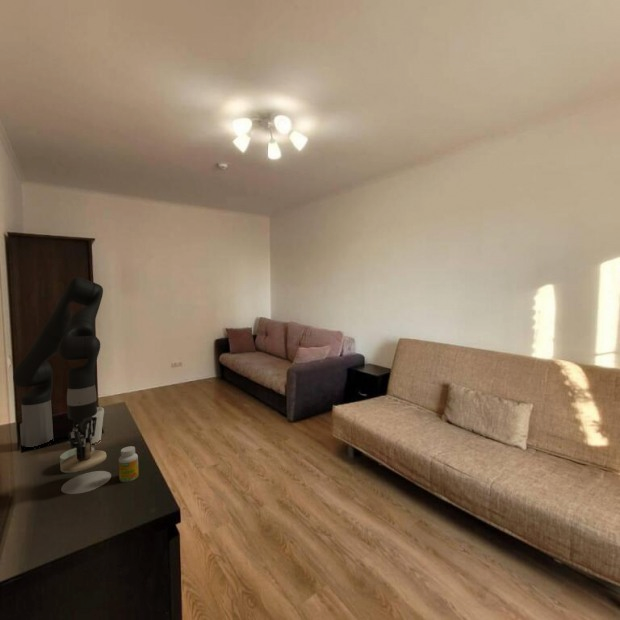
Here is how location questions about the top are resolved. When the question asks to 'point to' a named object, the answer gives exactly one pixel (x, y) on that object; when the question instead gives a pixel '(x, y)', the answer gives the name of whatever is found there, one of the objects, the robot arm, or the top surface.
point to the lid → (84, 460)
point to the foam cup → (98, 425)
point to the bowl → (68, 454)
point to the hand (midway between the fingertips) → (84, 455)
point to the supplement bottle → (128, 464)
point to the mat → (86, 482)
